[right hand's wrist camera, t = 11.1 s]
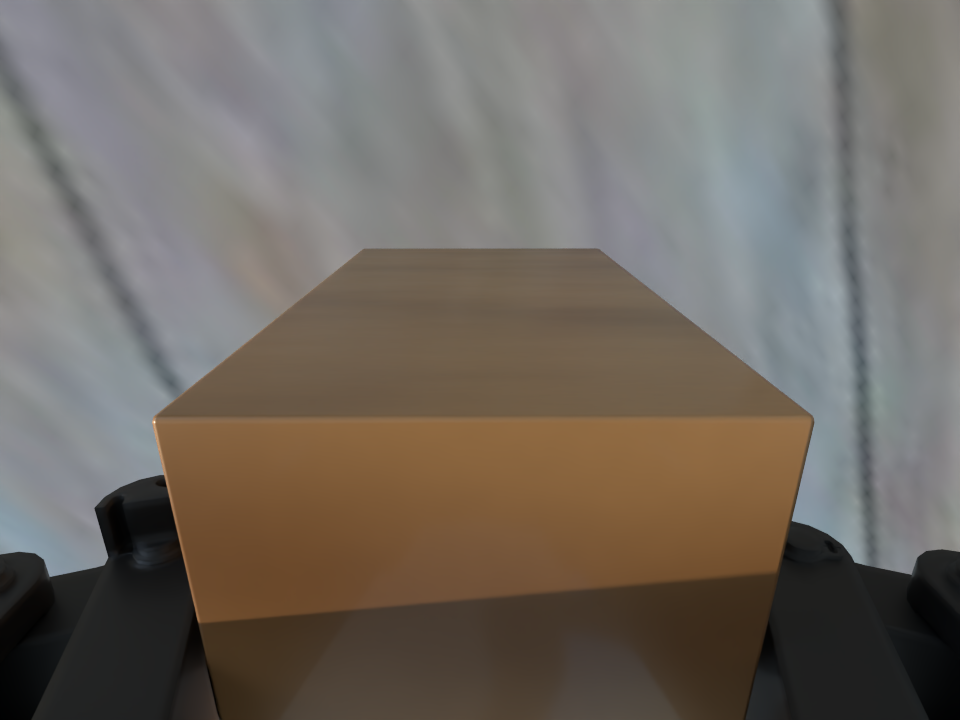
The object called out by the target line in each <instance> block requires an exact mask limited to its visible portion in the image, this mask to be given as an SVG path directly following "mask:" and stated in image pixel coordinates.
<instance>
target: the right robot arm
mask: <svg viewBox="0 0 960 720" xmlns="http://www.w3.org/2000/svg"><path fill="white" fill-rule="evenodd" d="M95 512H96V515H97V519H98V522H99V526H100V529H101V533H102V536H103V540H104V543H105V547H106V550H107V554H108V560H107V562H106V564H105V565H104V566H100V567H97V568H92V569H87V570H82V571H77V572H73V573H68V574H63V575H58V576H53V577H49V574H48V571H47V568H46V565H45V562H44V560H43V559H42V558H41V557H39V556H38V555H36V554H35V553H25V552H15V553H8V554H1V555H0V720H220V716H219V711H218V707H217V703H216V698H215V694H214V690H213V685H212V681H211V677H210V672H209V668H208V663H207V659H206V655H205V650H204V646H203V642H202V637H201V633H200V629H199V624H198V620H197V616H196V611H195V607H194V602H193V598H192V594H191V589H190V585H189V581H188V576H187V572H186V568H185V563H184V559H183V554H182V550H181V546H180V541H179V537H178V533H177V528H176V524H175V520H174V515H173V511H172V506H171V502H170V498H169V493H168V489H167V485H166V480H165V476H164V475H159V476H154V477H150V478H146V479H141V480H138V481H135V482H133V483H130V484H128V485H125V486H123V487H120V488H119V489H117V490H115V491H114V492H112V493H111V494H109V495H107V496H106V497H104V498H103V499H102V501H101V502H100V503H99V504H98V505H97V506H96V507H95ZM745 720H960V552H956V551H949V550H932V551H926V552H924V553H923V554H922V555H920V556H919V557H918V558H917V560H916V563H915V566H914V569H913V572H912V575H910V574H905V573H900V572H895V571H890V570H885V569H880V568H875V567H870V566H866V565H862V564H858V563H854V561H853V559H852V557H851V555H850V554H849V553H848V551H847V550H846V549H845V548H844V546H843V545H842V544H841V543H839V542H838V541H836V540H835V539H834V538H832V537H831V536H829V535H828V534H826V533H824V532H822V531H820V530H818V529H815V528H813V527H811V526H809V525H805V524H801V523H797V522H793V521H791V525H790V529H789V534H788V538H787V542H786V547H785V551H784V555H783V560H782V564H781V568H780V572H779V577H778V581H777V585H776V590H775V594H774V598H773V603H772V607H771V611H770V615H769V620H768V624H767V628H766V633H765V637H764V641H763V646H762V650H761V654H760V658H759V663H758V667H757V671H756V676H755V680H754V684H753V689H752V693H751V697H750V702H749V706H748V710H747V714H746V719H745Z"/></svg>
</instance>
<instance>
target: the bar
mask: <svg viewBox="0 0 960 720" xmlns="http://www.w3.org/2000/svg"><path fill="white" fill-rule="evenodd" d="M152 424H153V428H154V432H155V437H156V441H157V445H158V450H159V454H160V458H161V463H162V467H163V472H164V476H165V480H166V485H167V489H168V493H169V498H170V502H171V506H172V511H173V515H174V520H175V524H176V528H177V533H178V537H179V541H180V546H181V550H182V554H183V559H184V563H185V568H186V572H187V576H188V581H189V585H190V589H191V594H192V598H193V602H194V607H195V611H196V616H197V620H198V624H199V629H200V633H201V637H202V642H203V646H204V650H205V655H206V659H207V663H208V668H209V672H210V677H211V681H212V685H213V690H214V694H215V698H216V703H217V707H218V711H219V716H220V720H745V719H746V714H747V710H748V706H749V702H750V697H751V693H752V689H753V684H754V680H755V676H756V671H757V667H758V663H759V658H760V654H761V650H762V646H763V641H764V637H765V633H766V628H767V624H768V620H769V615H770V611H771V607H772V603H773V598H774V594H775V590H776V585H777V581H778V577H779V572H780V568H781V564H782V560H783V555H784V551H785V547H786V542H787V538H788V534H789V529H790V525H791V521H792V516H793V512H794V508H795V504H796V499H797V495H798V491H799V486H800V482H801V478H802V473H803V469H804V465H805V461H806V456H807V452H808V448H809V443H810V439H811V435H812V430H813V426H814V418H813V416H812V415H811V414H810V413H808V412H807V411H806V410H805V409H803V408H802V407H801V406H799V405H798V404H797V403H796V402H794V401H793V400H792V399H790V398H789V397H788V396H787V395H785V394H784V393H783V392H781V391H780V390H779V389H778V388H776V387H775V386H774V385H772V384H771V383H770V382H769V381H767V380H766V379H765V378H763V377H762V376H761V375H760V374H758V373H757V372H756V371H755V370H753V369H752V368H751V367H749V366H748V365H747V364H746V363H744V362H743V361H742V360H740V359H739V358H738V357H737V356H735V355H734V354H733V353H731V352H730V351H729V350H728V349H726V348H725V347H724V346H722V345H721V344H720V343H719V342H717V341H716V340H715V339H714V338H712V337H711V336H710V335H708V334H707V333H706V332H705V331H703V330H702V329H701V328H699V327H698V326H697V325H696V324H694V323H693V322H692V321H690V320H689V319H688V318H687V317H685V316H684V315H683V314H681V313H680V312H679V311H678V310H676V309H675V308H674V307H672V306H671V305H670V304H669V303H667V302H666V301H665V300H664V299H662V298H661V297H660V296H658V295H657V294H656V293H655V292H653V291H652V290H651V289H649V288H648V287H647V286H646V285H644V284H643V283H642V282H640V281H639V280H638V279H637V278H635V277H634V276H633V275H631V274H630V273H629V272H628V271H626V270H625V269H624V268H622V267H621V266H620V265H619V264H617V263H616V262H615V261H614V260H612V259H611V258H610V257H608V256H607V255H606V254H605V253H603V252H602V251H601V250H599V249H363V250H362V251H360V252H359V253H358V254H357V255H355V256H354V257H353V258H352V259H350V260H349V261H348V262H347V263H345V264H344V265H343V266H342V267H340V268H339V269H338V270H337V271H335V272H334V273H333V274H332V275H330V276H329V277H328V278H327V279H325V280H324V281H323V282H322V283H320V284H319V285H318V286H317V287H315V288H314V289H313V290H312V291H310V292H309V293H308V294H307V295H305V296H304V297H303V298H302V299H300V300H299V301H298V302H297V303H295V304H294V305H293V306H292V307H290V308H289V309H288V310H287V311H285V312H284V313H283V314H282V315H280V316H279V317H278V318H277V319H275V320H274V321H273V322H271V323H270V324H269V325H268V326H266V327H265V328H264V329H263V330H261V331H260V332H259V333H258V334H256V335H255V336H254V337H253V338H251V339H250V340H249V341H248V342H246V343H245V344H244V345H243V346H241V347H240V348H239V349H238V350H236V351H235V352H234V353H233V354H231V355H230V356H229V357H228V358H226V359H225V360H224V361H223V362H221V363H220V364H219V365H218V366H216V367H215V368H214V369H213V370H211V371H210V372H209V373H208V374H206V375H205V376H204V377H203V378H201V379H200V380H199V381H198V382H196V383H195V384H194V385H193V386H191V387H190V388H189V389H188V390H186V391H185V392H184V393H183V394H181V395H180V396H179V397H178V398H176V399H175V400H174V401H173V402H171V403H170V404H169V405H168V406H166V407H165V408H164V409H163V410H161V411H160V412H159V413H158V414H156V415H155V416H154V418H153V422H152Z"/></svg>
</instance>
